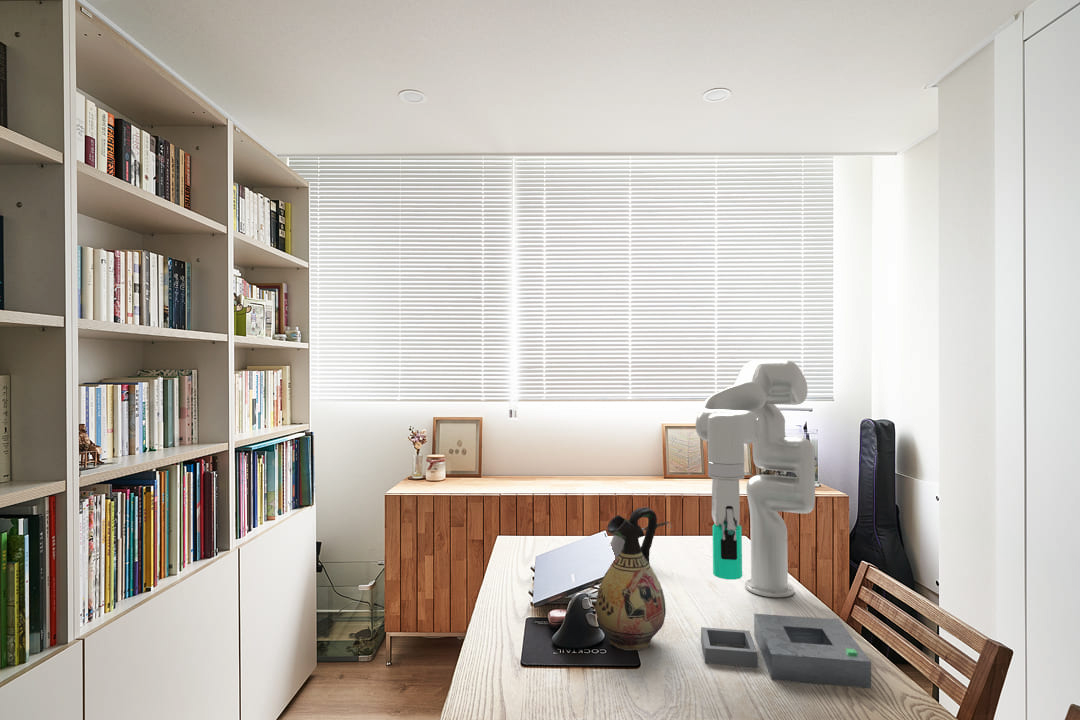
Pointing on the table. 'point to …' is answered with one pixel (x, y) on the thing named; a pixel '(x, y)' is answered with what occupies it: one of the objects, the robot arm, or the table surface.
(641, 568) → the ceramic jug
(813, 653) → the port block
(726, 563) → the candle
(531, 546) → the table surface
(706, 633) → the grey square tray
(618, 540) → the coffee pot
